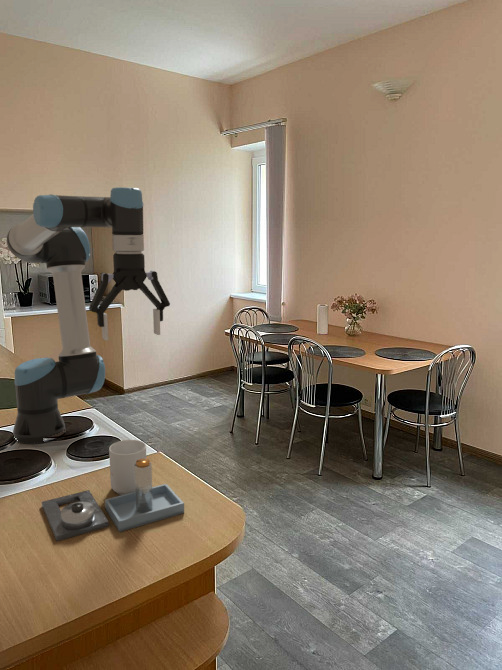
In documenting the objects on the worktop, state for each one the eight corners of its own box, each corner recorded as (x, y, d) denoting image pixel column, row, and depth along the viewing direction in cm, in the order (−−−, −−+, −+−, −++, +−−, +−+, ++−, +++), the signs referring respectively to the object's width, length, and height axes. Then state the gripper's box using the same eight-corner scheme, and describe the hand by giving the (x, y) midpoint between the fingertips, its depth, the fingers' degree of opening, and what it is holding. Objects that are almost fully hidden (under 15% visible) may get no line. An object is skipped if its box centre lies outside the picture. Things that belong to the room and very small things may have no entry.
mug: (150, 493, 131) (148, 451, 128) (113, 499, 128) (111, 456, 125) (142, 472, 142) (140, 433, 139) (108, 477, 139) (106, 437, 136)
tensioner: (41, 506, 124) (40, 488, 123) (89, 494, 130) (88, 477, 129) (56, 541, 111) (55, 521, 110) (108, 526, 116) (107, 507, 115)
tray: (119, 532, 114) (119, 521, 114) (105, 509, 123) (104, 499, 123) (184, 512, 122) (184, 503, 122) (166, 492, 131) (166, 483, 130)
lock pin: (133, 507, 123) (132, 460, 121) (149, 502, 125) (147, 456, 123) (139, 514, 120) (137, 466, 117) (155, 510, 122) (153, 462, 119)
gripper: (81, 254, 121) (86, 344, 126) (181, 252, 134) (182, 334, 138) (73, 252, 127) (78, 338, 132) (169, 250, 140) (171, 329, 145)
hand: (131, 336), depth 135 cm, fingers open, 13 cm apart
